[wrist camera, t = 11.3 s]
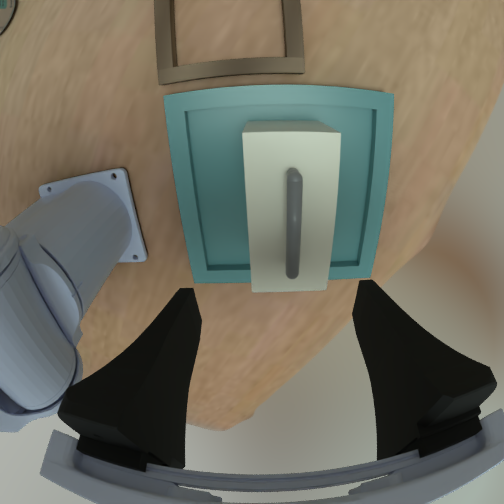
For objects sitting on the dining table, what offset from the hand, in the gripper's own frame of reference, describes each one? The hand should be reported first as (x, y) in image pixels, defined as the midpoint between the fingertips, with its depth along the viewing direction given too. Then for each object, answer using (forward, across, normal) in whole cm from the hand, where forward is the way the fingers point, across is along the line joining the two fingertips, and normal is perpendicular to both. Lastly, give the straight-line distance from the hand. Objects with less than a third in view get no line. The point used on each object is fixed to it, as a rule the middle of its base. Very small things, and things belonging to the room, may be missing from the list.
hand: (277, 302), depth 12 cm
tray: (+9, -1, -2) cm, 10 cm away
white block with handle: (+9, -1, -2) cm, 9 cm away
